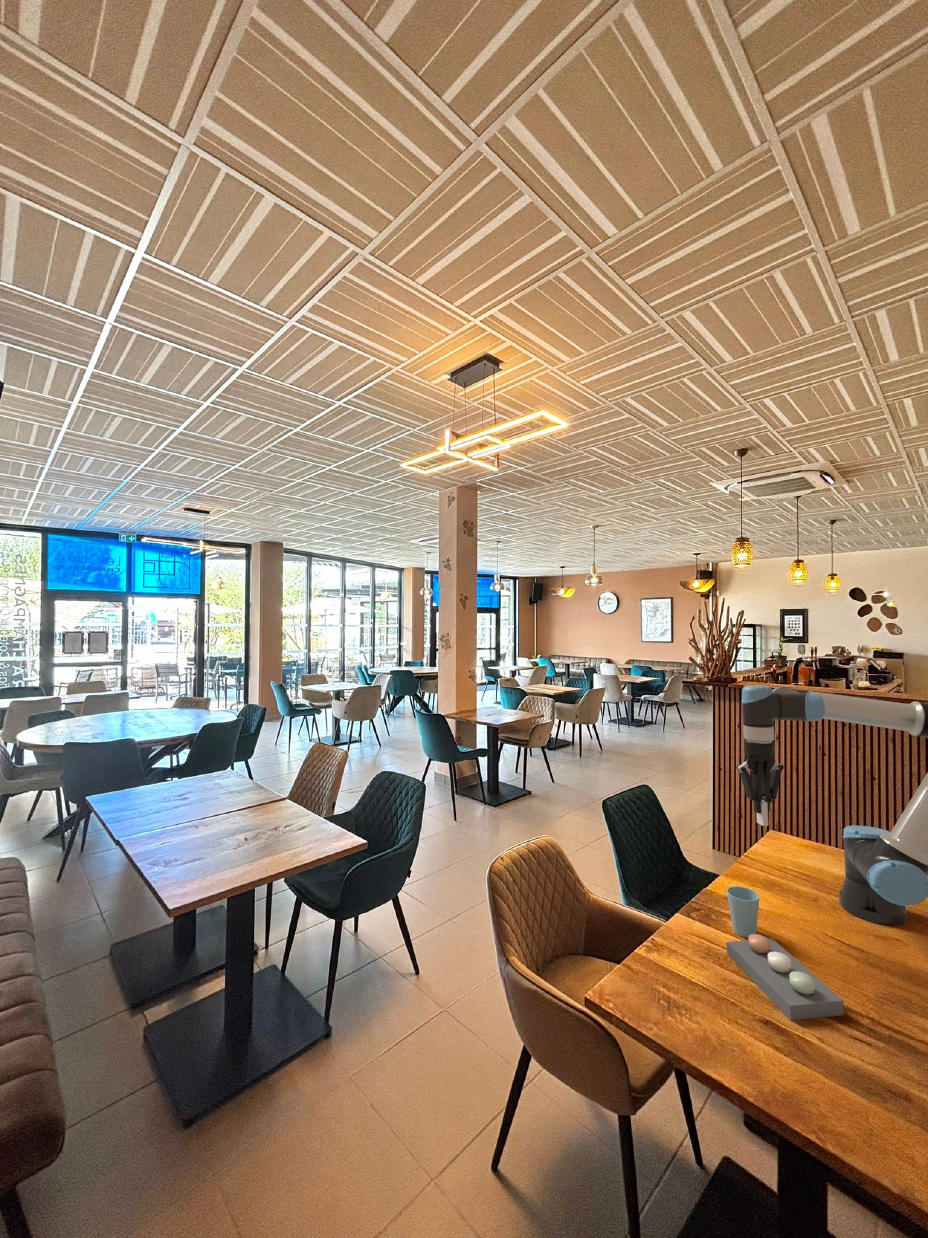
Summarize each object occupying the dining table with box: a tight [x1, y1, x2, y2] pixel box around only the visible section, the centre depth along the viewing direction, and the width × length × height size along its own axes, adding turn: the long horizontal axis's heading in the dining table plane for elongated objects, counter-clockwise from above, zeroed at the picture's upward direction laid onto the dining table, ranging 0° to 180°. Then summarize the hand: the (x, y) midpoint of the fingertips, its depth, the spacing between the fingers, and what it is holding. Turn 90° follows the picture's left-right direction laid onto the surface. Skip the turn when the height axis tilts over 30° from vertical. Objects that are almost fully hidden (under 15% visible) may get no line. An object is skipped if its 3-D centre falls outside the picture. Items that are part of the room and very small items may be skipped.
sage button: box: [789, 971, 815, 996], centre depth 110 cm, size 5×5×4 cm
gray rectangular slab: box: [726, 937, 845, 1021], centre depth 117 cm, size 12×22×3 cm, turn 5°
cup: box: [726, 885, 760, 939], centre depth 136 cm, size 8×8×10 cm
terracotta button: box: [748, 933, 770, 954], centre depth 124 cm, size 5×5×4 cm
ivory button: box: [768, 952, 791, 974], centre depth 117 cm, size 5×5×4 cm
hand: (762, 824), depth 143 cm, fingers closed
